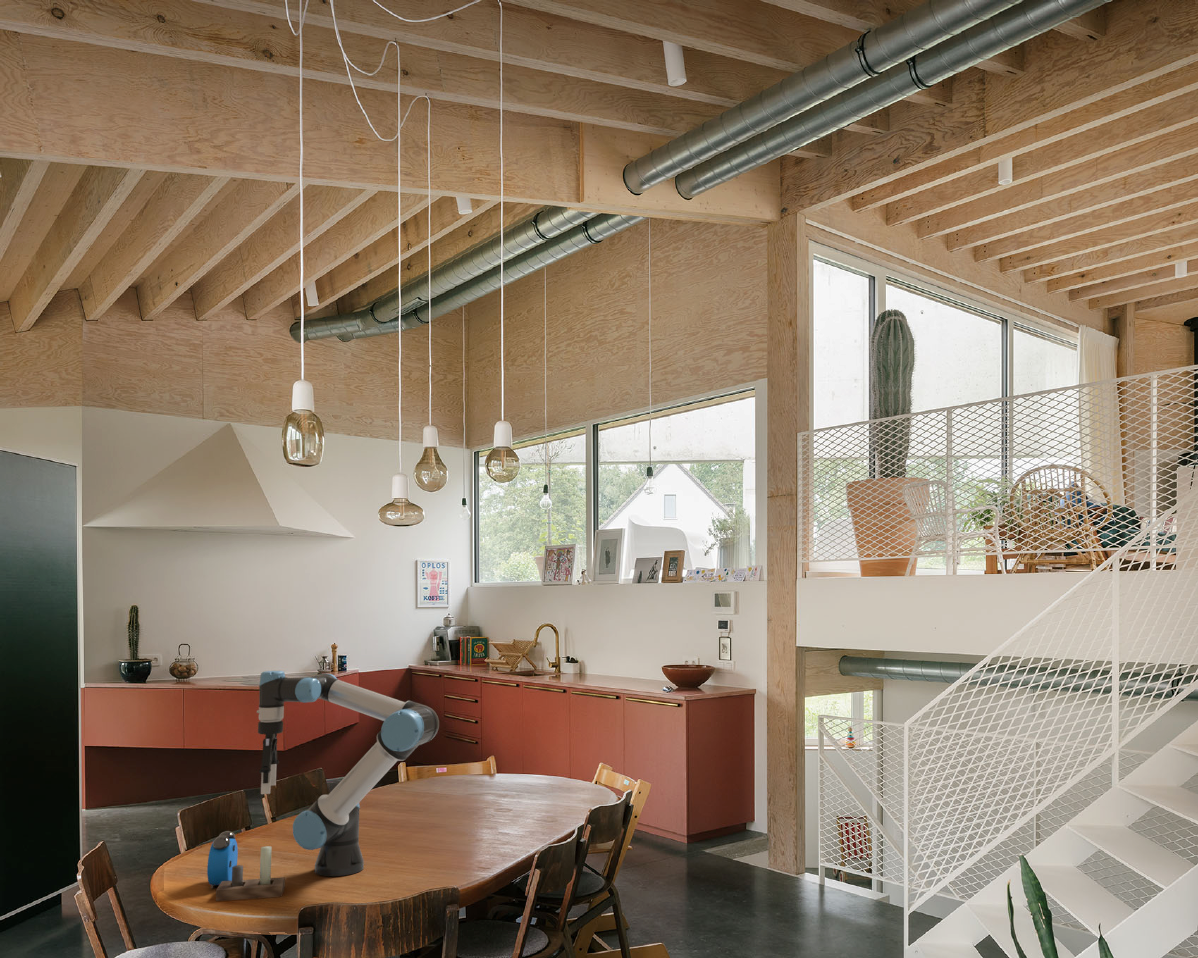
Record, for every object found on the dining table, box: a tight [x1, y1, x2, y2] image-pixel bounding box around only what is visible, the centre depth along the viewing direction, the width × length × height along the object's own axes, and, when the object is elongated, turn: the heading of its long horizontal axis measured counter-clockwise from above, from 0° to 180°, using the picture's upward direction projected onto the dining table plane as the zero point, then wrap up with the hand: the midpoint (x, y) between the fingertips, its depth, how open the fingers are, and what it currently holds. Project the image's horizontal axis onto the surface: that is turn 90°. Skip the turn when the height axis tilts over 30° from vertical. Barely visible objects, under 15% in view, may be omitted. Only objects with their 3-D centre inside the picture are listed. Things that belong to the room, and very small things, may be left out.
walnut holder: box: [215, 864, 286, 902], centre depth 281 cm, size 18×9×8 cm, turn 102°
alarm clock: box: [206, 830, 239, 889], centre depth 291 cm, size 13×6×15 cm, turn 8°
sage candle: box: [259, 845, 273, 885], centre depth 282 cm, size 3×3×13 cm
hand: (268, 789), depth 300 cm, fingers open, 13 cm apart
